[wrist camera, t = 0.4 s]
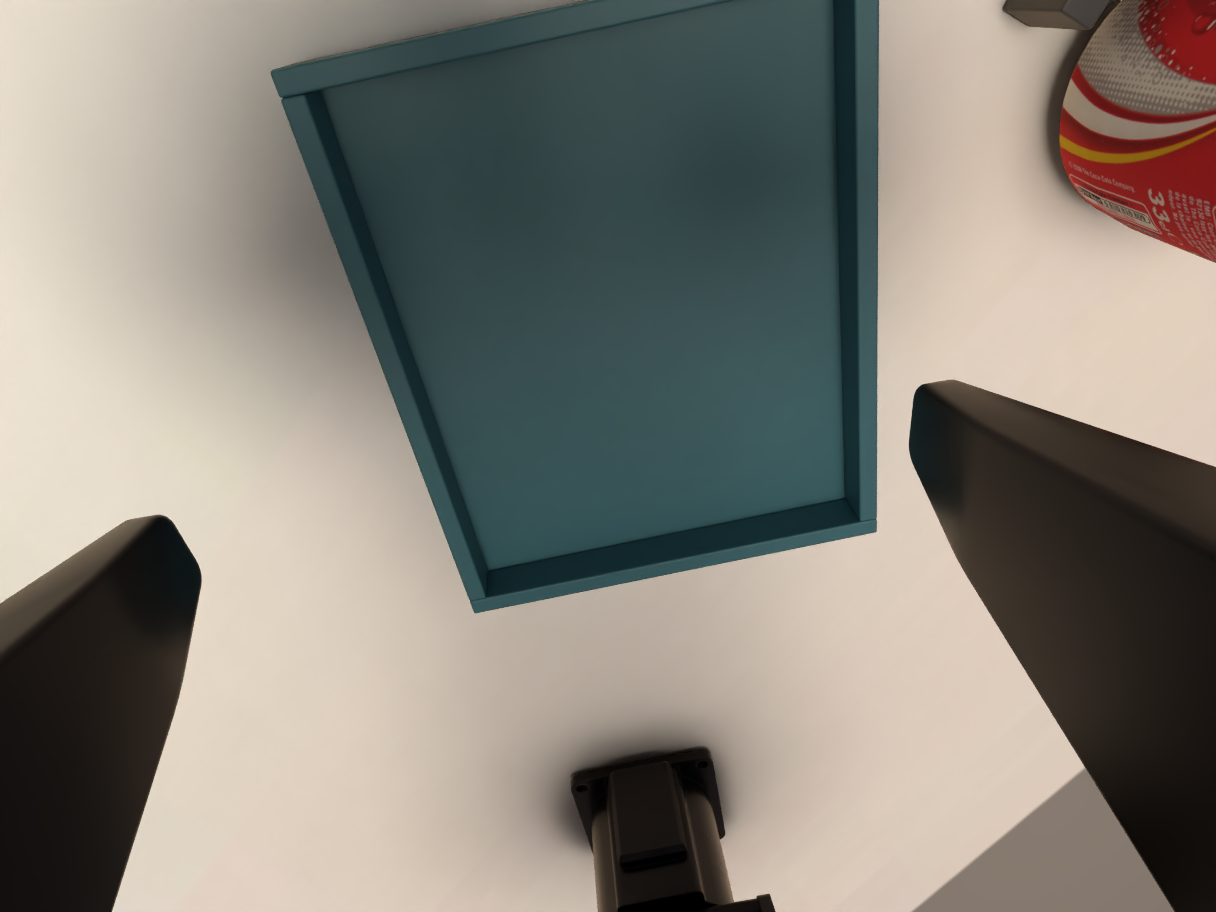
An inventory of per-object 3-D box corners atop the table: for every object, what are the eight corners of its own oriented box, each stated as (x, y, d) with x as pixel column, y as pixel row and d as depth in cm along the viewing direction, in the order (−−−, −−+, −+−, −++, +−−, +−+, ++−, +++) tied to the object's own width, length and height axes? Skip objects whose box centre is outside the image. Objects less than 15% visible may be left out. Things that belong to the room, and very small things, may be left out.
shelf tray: (854, 498, 28) (877, 532, 26) (477, 575, 28) (474, 614, 26) (847, -58, 19) (880, -63, 17) (292, 63, 19) (268, 70, 17)
